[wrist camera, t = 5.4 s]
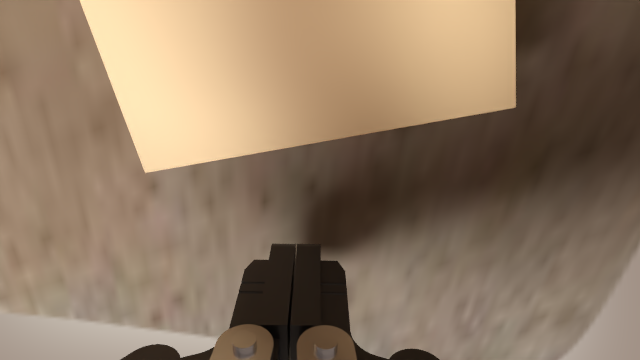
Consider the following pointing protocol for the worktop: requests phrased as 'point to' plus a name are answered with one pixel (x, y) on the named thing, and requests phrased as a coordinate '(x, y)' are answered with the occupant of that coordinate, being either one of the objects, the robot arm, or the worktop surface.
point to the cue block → (297, 70)
